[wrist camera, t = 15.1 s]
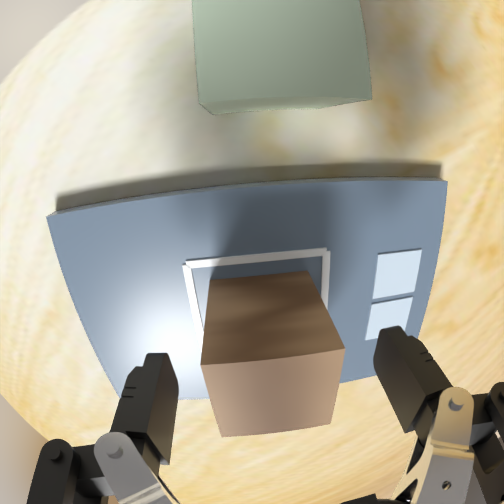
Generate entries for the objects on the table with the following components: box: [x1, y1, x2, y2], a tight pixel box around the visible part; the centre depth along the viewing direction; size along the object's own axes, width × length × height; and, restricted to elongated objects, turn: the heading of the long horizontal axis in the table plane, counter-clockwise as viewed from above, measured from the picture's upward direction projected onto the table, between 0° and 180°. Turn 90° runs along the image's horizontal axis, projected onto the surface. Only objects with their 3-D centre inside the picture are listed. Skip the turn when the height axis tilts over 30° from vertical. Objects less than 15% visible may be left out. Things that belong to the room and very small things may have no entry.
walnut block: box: [200, 270, 345, 437], centre depth 13 cm, size 5×5×6 cm
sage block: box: [192, 0, 372, 115], centre depth 9 cm, size 5×5×6 cm
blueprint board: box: [46, 177, 448, 400], centre depth 16 cm, size 22×14×1 cm, turn 94°
